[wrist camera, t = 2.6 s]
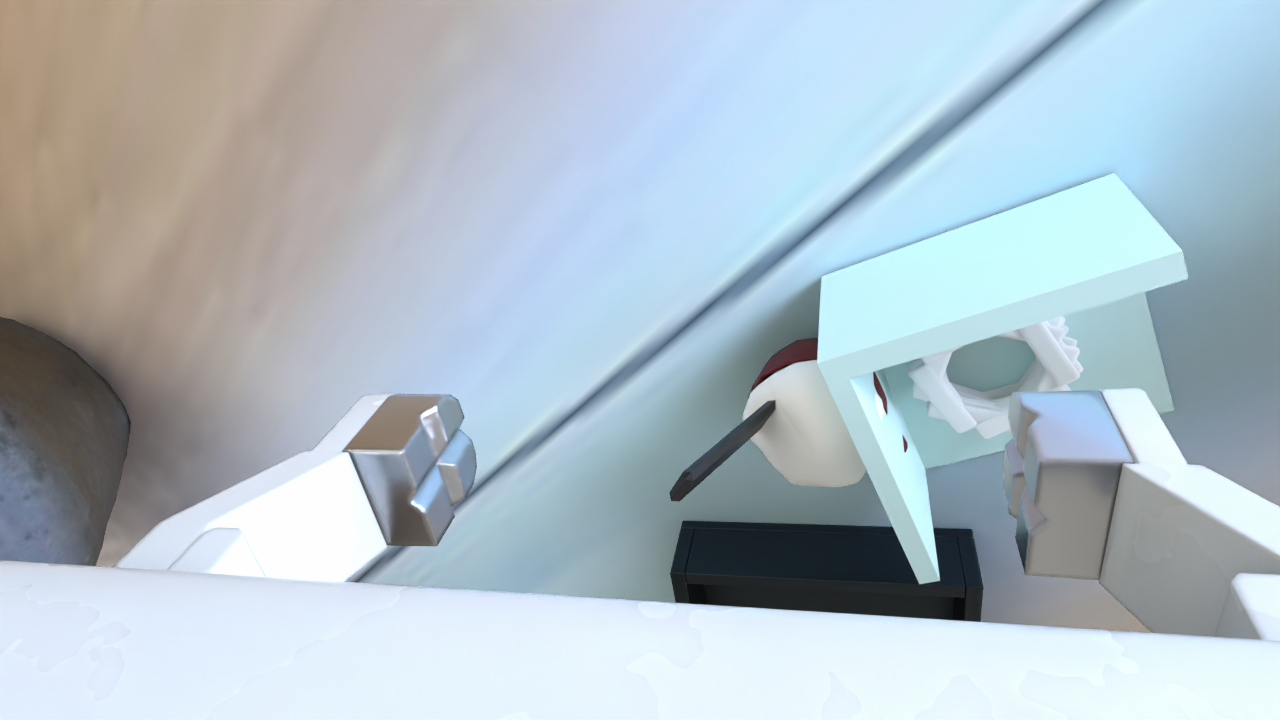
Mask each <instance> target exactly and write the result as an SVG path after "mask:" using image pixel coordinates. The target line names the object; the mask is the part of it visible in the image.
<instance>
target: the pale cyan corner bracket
mask: <svg viewBox="0 0 1280 720" xmlns="http://www.w3.org/2000/svg"><path fill="white" fill-rule="evenodd" d="M1186 279H1189V278H1188V274H1187V269H1186V265H1185V260H1184V256H1183V251H1182V250H1181V249H1180V247H1179V246H1178V245H1177V244H1176V243H1175V242H1174V241H1173V239H1172V238H1171V237H1170V236H1169V235H1168V234H1167V232H1166V231H1165V230H1164V229H1163V228H1162V227H1161V226H1160V224H1159V223H1158V222H1157V221H1156V220H1155V219H1154V217H1153V216H1152V215H1151V214H1150V213H1149V212H1148V211H1147V209H1146V208H1145V207H1144V206H1143V205H1142V204H1141V203H1140V201H1139V200H1138V199H1137V198H1136V197H1135V196H1134V194H1133V193H1132V192H1131V191H1130V190H1129V189H1128V188H1127V186H1126V185H1125V184H1124V183H1123V182H1122V181H1121V179H1120V178H1119V177H1118V176H1117V175H1116V174H1115V173H1112V174H1109V175H1107V176H1104V177H1101V178H1098V179H1095V180H1092V181H1090V182H1087V183H1084V184H1081V185H1078V186H1075V187H1073V188H1070V189H1067V190H1064V191H1061V192H1058V193H1056V194H1053V195H1050V196H1047V197H1044V198H1042V199H1039V200H1036V201H1033V202H1030V203H1027V204H1025V205H1022V206H1019V207H1016V208H1013V209H1010V210H1008V211H1005V212H1002V213H999V214H996V215H994V216H991V217H988V218H985V219H982V220H979V221H977V222H974V223H971V224H968V225H965V226H962V227H960V228H957V229H954V230H951V231H948V232H946V233H943V234H940V235H937V236H934V237H931V238H929V239H926V240H923V241H920V242H917V243H914V244H912V245H909V246H906V247H903V248H900V249H897V250H895V251H892V252H889V253H886V254H883V255H881V256H878V257H875V258H872V259H869V260H866V261H864V262H861V263H858V264H855V265H852V266H849V267H847V268H844V269H841V270H838V271H835V272H833V273H830V274H827V275H824V276H821V295H820V314H819V334H818V353H817V364H818V367H819V369H820V371H821V373H822V375H823V377H824V380H825V382H826V384H827V386H828V388H829V390H830V392H831V395H832V397H833V399H834V401H835V403H836V405H837V408H838V410H839V412H840V414H841V416H842V418H843V420H844V423H845V425H846V427H847V429H848V431H849V433H850V436H851V438H852V440H853V442H854V444H855V446H856V449H857V451H858V453H859V455H860V457H861V459H862V461H863V464H864V466H865V468H866V470H867V472H868V474H869V477H870V479H871V481H872V483H873V485H874V487H875V489H876V492H877V494H878V496H879V498H880V500H881V502H882V505H883V507H884V509H885V511H886V513H887V515H888V518H889V520H890V522H891V524H892V526H893V528H894V530H895V533H896V535H897V537H898V539H899V541H900V543H901V546H902V548H903V550H904V552H905V554H906V556H907V558H908V561H909V563H910V565H911V567H912V569H913V571H914V574H915V576H916V578H917V580H918V582H919V584H924V583H930V582H935V581H940V576H939V569H938V561H937V554H936V546H935V539H934V532H933V524H932V517H931V509H930V502H929V495H928V487H927V480H926V472H925V469H929V468H934V467H938V466H942V465H946V464H951V463H955V462H959V461H963V460H967V459H972V458H976V457H980V456H984V455H988V454H993V453H997V452H1001V451H1005V445H1006V444H1007V443H1008V442H1009V441H1010V440H1011V439H1012V438H1013V435H1012V432H1011V428H1010V425H1009V421H1008V411H1009V403H1010V399H1011V395H1012V392H1043V391H1082V390H1101V389H1127V388H1139V389H1141V390H1143V391H1145V392H1146V394H1147V395H1148V397H1149V399H1150V401H1151V402H1152V404H1153V406H1154V407H1155V409H1156V411H1157V412H1158V414H1161V413H1165V412H1170V411H1174V406H1173V402H1172V398H1171V394H1170V390H1169V386H1168V382H1167V378H1166V374H1165V370H1164V366H1163V362H1162V358H1161V354H1160V351H1159V347H1158V343H1157V339H1156V335H1155V331H1154V327H1153V323H1152V319H1151V315H1150V311H1149V307H1148V303H1147V299H1146V295H1145V292H1146V291H1149V290H1152V289H1156V288H1159V287H1163V286H1166V285H1169V284H1173V283H1176V282H1180V281H1183V280H1186ZM874 371H875V373H876V376H877V378H878V380H879V382H880V384H881V386H882V388H883V391H884V393H885V396H886V398H887V415H886V412H885V410H884V414H885V415H884V414H883V421H882V419H881V418H880V417H879V414H878V411H877V407H876V402H875V393H876V394H877V391H876V389H875V386H874V376H873V372H874ZM902 434H903V435H902ZM903 436H904V437H905V439H906V441H907V444H908V448H907V451H906V453H905V452H904V445H903Z"/></svg>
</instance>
